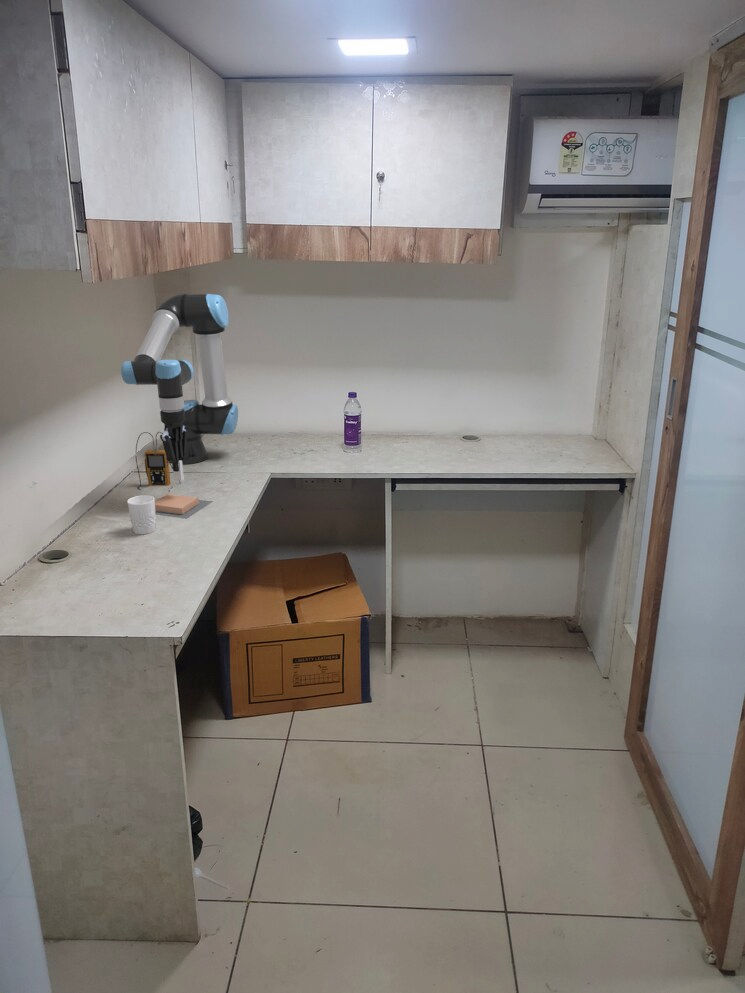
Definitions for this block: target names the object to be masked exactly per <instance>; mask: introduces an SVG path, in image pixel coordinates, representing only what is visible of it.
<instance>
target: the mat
mask: <svg viewBox="0 0 745 993" xmlns="http://www.w3.org/2000/svg"><path fill="white" fill-rule="evenodd" d="M212 503H213V501H211V500H204V499H203V500H201V499H199V504H198V505H196V506H195V507H193V508H192V509H190V510H189V511H187V512H185V513H184V514H174V513H167V512H159V511H155V514H156V516H157V515H158V516H165V517H172V518H179V519H185V520H188V519H189V518H190V517H193V515H195V514H197V513H198V512H199V511H201V510H202V509H204V508H205V507H207V506H209V505H210V504H212Z"/></svg>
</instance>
